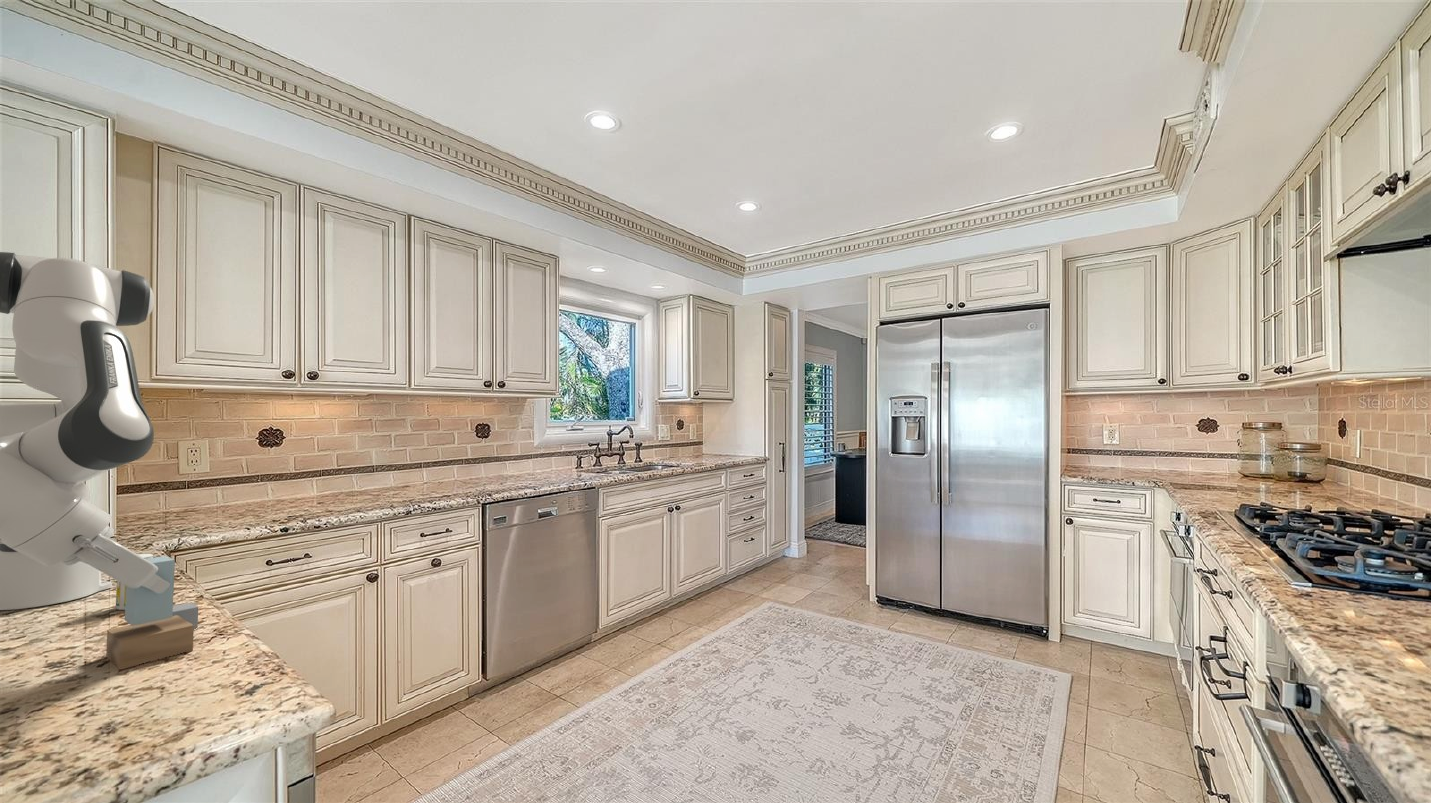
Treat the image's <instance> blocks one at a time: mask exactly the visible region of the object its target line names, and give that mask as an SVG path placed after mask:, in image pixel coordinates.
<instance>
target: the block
mask: <svg viewBox="0 0 1431 803" xmlns="http://www.w3.org/2000/svg"><path fill="white" fill-rule="evenodd" d="M176 615H178V616H179V617H181V618H183V619H184V620H186V621H188V622H189V623H191V624H193V625H194V629H196V628H197V629H198V624H199V622H198V621H199V606H198V605H196V604H194V603H193V602H187V603H182V604H181V603H180V604H176V605H173V615H172V616H176Z"/></svg>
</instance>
